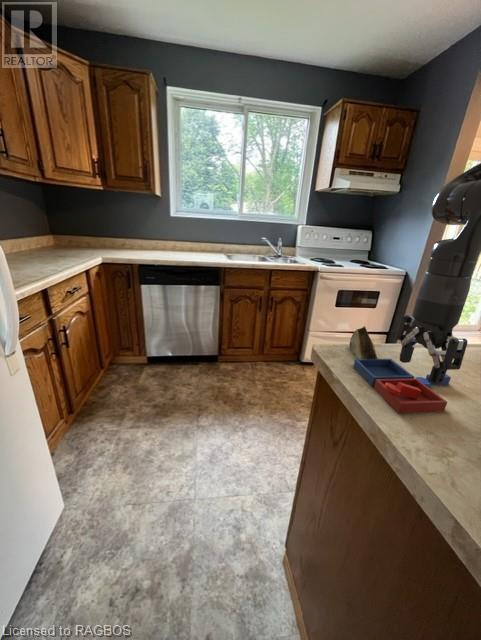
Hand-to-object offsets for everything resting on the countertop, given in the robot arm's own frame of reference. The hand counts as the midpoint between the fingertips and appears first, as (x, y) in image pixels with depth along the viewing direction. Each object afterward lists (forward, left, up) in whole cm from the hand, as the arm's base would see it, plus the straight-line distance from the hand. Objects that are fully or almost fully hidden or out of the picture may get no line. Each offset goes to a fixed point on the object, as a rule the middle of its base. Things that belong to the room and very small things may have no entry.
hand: (418, 371), depth 57 cm
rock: (0, -19, -7) cm, 20 cm away
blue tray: (+1, -9, -7) cm, 12 cm away
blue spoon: (-10, -5, -7) cm, 13 cm away
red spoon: (+3, 0, -5) cm, 6 cm away
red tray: (+1, 0, -7) cm, 7 cm away
